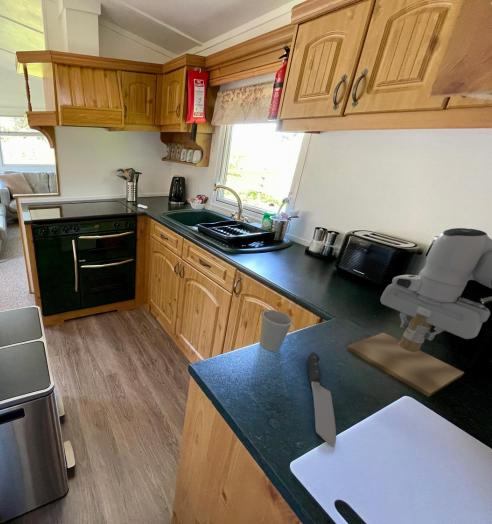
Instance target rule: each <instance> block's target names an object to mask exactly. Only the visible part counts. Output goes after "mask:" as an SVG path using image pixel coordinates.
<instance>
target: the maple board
mask: <svg viewBox="0 0 492 524" xmlns="http://www.w3.org/2000/svg"><path fill="white" fill-rule="evenodd" d="M400 341H401V339H397V338H395V337H393V336H391V335H389V334H387V333H385V332H381V333H377V334H375V335H373V336H370V337H367V338H365V339H362V340H359V341H357V342H354V343H352V344H348V345H347V347H346V350H348V351H350V352H351V353H353V354H354V355H357V356H358V357H360V358H361V359H363V360H365V361H366V362H368V363H370V364H372V365H373V366H375V367H377V368H378V369H380V370H382V371H383V372H385V373H387V374H389V375H390V376H392V377H393V378H394V379H395V378H396V379H397V380H399V381H400V382H402V383H404V384H405V385H407V386H409V387H411V388H413V389H414V390H416V391H418V392H419V393H421V394H422V395H424V396H426V397H428V398H429V397H431V396H432V395H434V394H436V393H437V392H439V391H441V390H442V389H444V388H446V387H447V386H448V385H450V384H452V383H453V382H455V381H457V380H458V379H459V378H461V377H464V374H465V372H464V371H463V370H461V369H459V368H457V367H455V366H452V365H450V364H449V363H446V362H444V361H442V360H440V359H438V358H436V357H434V356H432V355H430V354H429V353H427V352H424V351H422V350H421V349H419V352H417V353H414V352H410V351H407V350H405V349H403V348H401V347H400V346H399V342H400Z"/></svg>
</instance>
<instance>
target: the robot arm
mask: <svg viewBox="0 0 492 524" xmlns="http://www.w3.org/2000/svg"><path fill="white" fill-rule="evenodd" d="M469 281H476V282H478V283H479V284H481V285H483V286H485V287H487V288H490V289H491V290H492V238H491V237H490V236H489V235H488V233H487V232H485V231H484V230H479V229H475V228H466V227H455V228H449V229H445V230H444V231H442V232H441V233H440V234H439V235H438V236H437V238H435V240H434V241H433V244H432V246H431V247H430V250H429V251H428V253H427V256H426V258H425V265H424V267H423V268H422V269H421V270H420V271H419V274H418V275H414V274H402V275H397V276H394V277H393V278H392V280H391V284H388V285H387V286H386V287H385V289H384V290H383V292H382V295H381V296H380V300H379V301H380V303H381V304H382V305H384V306H386V307H388V308H390V309H393V310H394V311H395V310H396V311H398V312H400V313H399V318H400V322H401V323H400V325H399V327H400V328H402V329H404V330H406V329H407V327H408V324H409V322H410V321H408V317H409V316H410V317H411V318H412V317H415V316H416V315H417V314H416V313H417V312H416V311H417V309H418V307H422V308H425V309H427V310H430V311H431V312H432V313H431V315H430V317H427V319H426V323H429V324H431V325H432V326H434V328H433V330H434V331H433V332H432V331H429V332H427V333H425V336H424V338H425V340H428V341H433V340H434V339H435V337H436V335H439V334H441V333H442V332H448V333H450V334H452V335H455V336H458V337H460V338H462V339H465V340H471V339H474V338H476V337H477V336H479V333H480V330H481V328H482V325H483V323H485V322H487V321H488V319H489V318H490V316H491V311H490V309H489V308H488V307H486V306H485V304H483V303H481V302H476V301H473V300H470V299H469V298H465V297H463V296H462V294H463V292H464V290H465V289H466V286H467V284H468V282H469Z"/></svg>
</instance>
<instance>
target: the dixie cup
mask: <svg viewBox="0 0 492 524" xmlns="http://www.w3.org/2000/svg"><path fill="white" fill-rule="evenodd" d="M293 324H294V320H293V318H292V317H291V316H289V315H288V314H286V313H285V312H282V311H279V310H274V309H267V310H263V311H262V312H261V327H260V337H259V345H260V346H261V348H263V349H264V350H266V351H269V352H278V351H280V349H281V347H282V345H283V342H284V341H285V339H286V337H287V334H288V332H289V330H290V328H291V326H292V325H293Z"/></svg>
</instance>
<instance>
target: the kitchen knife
mask: <svg viewBox="0 0 492 524" xmlns="http://www.w3.org/2000/svg"><path fill="white" fill-rule="evenodd" d="M319 361H320V356H319V355H318V354H317V353H316V352H315V351H312V352H310V353H309V354H308V356H307V358H306V368H307V375H308V381H309V385H311V390H312V397H313V406H314V421H315V422H314V424H315V432H316V434H317V435H318V436H319V437H320V438H321V439H322V440H324V441H325V442H326V444H328V445H329V446H330V447H332V448H334V447H335V445H336V441H337V428H336V419H335V418H336V417H335V412H334V406H333V405H334V403H333V398H332V393H331V391H330V390H328V389H327V388H325V387H323V386H322V385H321V384H320V380H321V379H320V375H321V374H320V373H321V370H320V366H319Z"/></svg>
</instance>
